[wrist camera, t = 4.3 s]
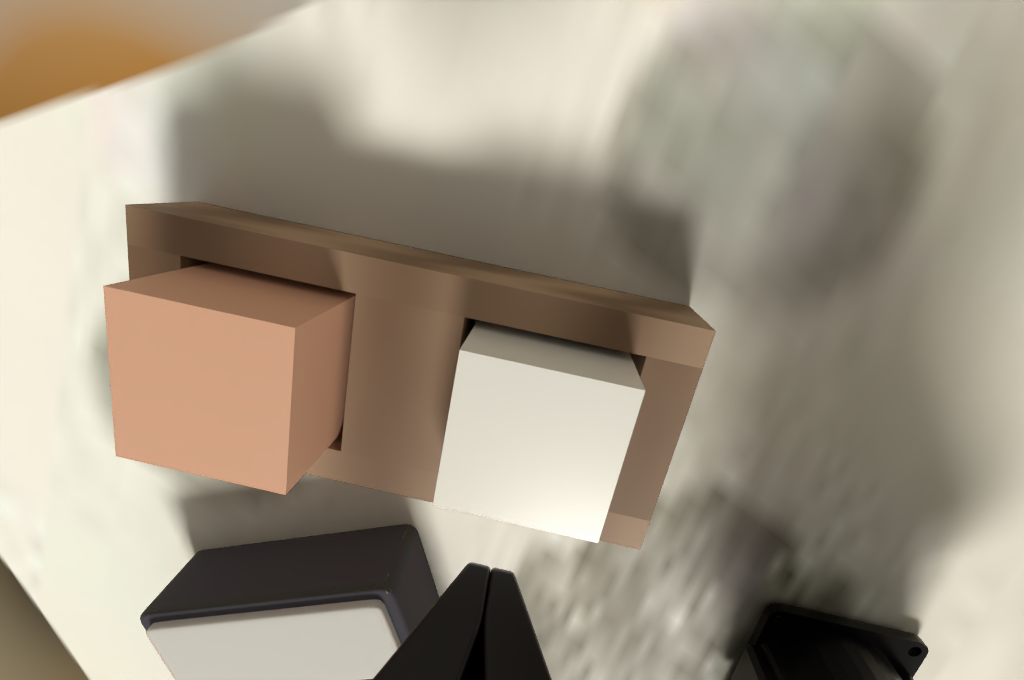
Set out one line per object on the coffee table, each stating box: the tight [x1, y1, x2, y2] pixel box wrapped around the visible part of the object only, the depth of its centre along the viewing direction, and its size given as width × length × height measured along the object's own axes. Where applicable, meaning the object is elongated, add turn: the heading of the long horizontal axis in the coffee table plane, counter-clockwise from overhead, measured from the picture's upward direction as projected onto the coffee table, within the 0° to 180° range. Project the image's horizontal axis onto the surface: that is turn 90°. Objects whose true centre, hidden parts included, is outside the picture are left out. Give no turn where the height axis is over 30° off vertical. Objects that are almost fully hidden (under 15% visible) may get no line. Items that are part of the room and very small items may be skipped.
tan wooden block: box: [104, 262, 356, 495], centre depth 15 cm, size 5×5×4 cm
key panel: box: [125, 202, 716, 550], centre depth 17 cm, size 18×8×3 cm, turn 79°
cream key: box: [433, 320, 645, 543], centre depth 15 cm, size 5×5×4 cm
